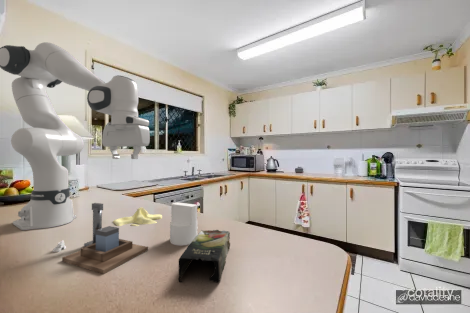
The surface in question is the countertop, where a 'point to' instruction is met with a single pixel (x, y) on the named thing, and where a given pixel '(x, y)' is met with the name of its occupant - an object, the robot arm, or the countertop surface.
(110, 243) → the grey banded block
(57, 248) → the white irregular angular piece
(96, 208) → the post
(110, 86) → the robot arm
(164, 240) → the countertop surface
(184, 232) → the cylinder with rectangular tab
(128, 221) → the cloth
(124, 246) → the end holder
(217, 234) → the juice carton
